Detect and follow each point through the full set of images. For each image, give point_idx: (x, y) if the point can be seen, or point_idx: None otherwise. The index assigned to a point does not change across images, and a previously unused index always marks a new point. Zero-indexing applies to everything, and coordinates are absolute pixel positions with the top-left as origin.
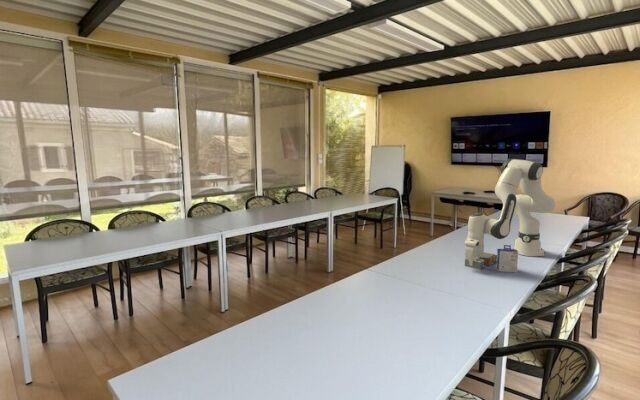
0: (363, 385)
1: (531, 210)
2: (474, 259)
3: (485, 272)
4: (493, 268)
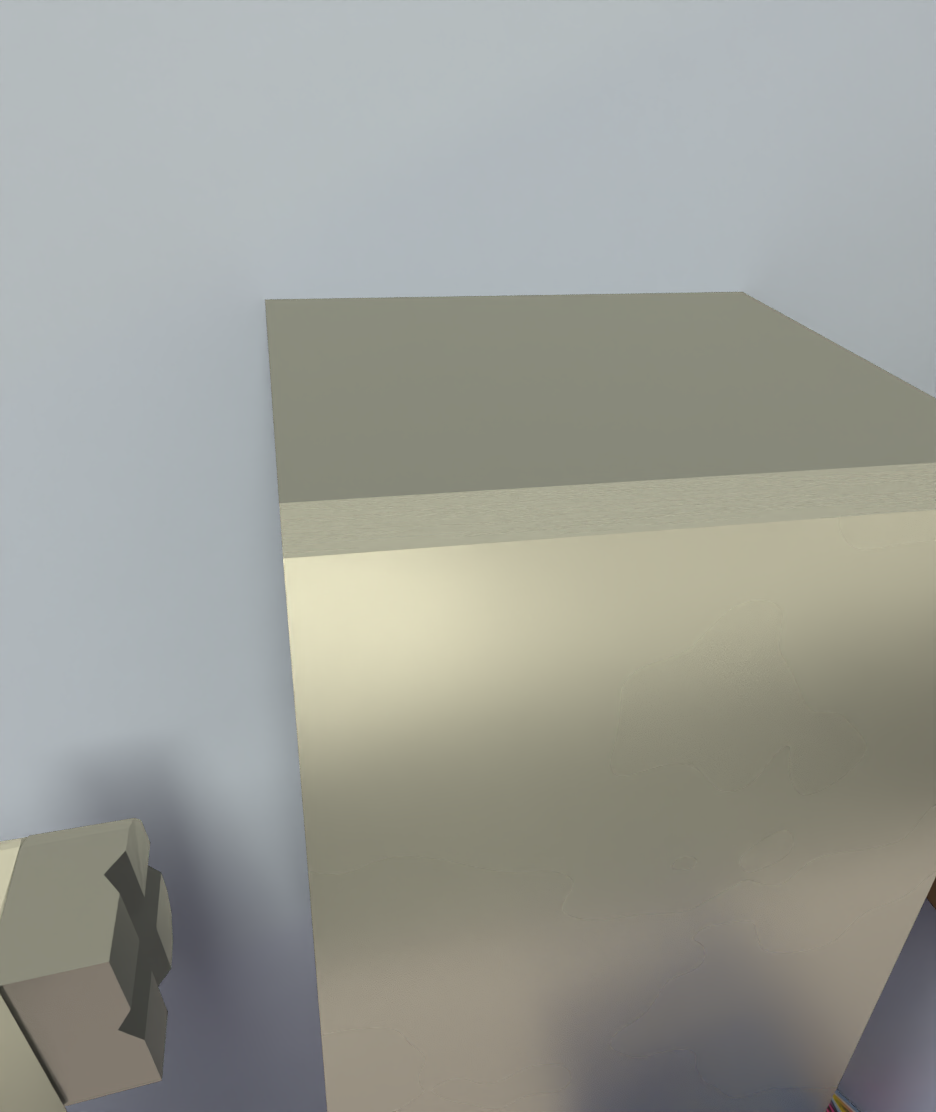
0: None
1: None
2: (492, 1073)
3: (195, 1096)
4: None
